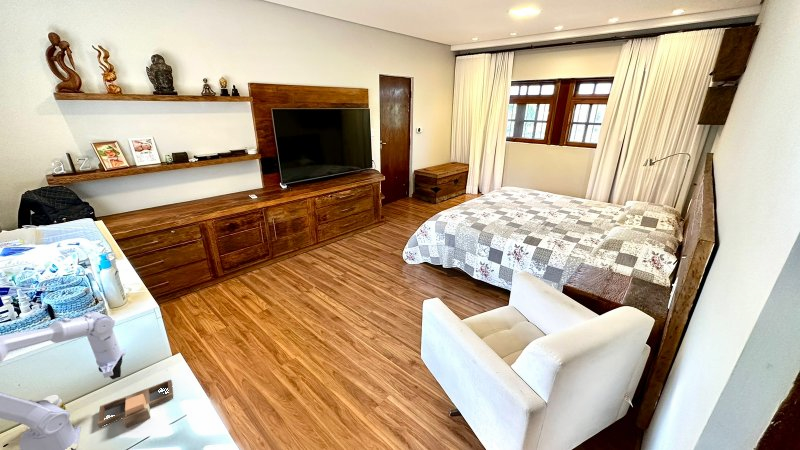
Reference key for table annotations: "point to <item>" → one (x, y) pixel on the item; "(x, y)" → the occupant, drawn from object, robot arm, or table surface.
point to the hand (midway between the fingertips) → (116, 376)
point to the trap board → (151, 400)
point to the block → (135, 404)
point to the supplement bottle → (56, 401)
